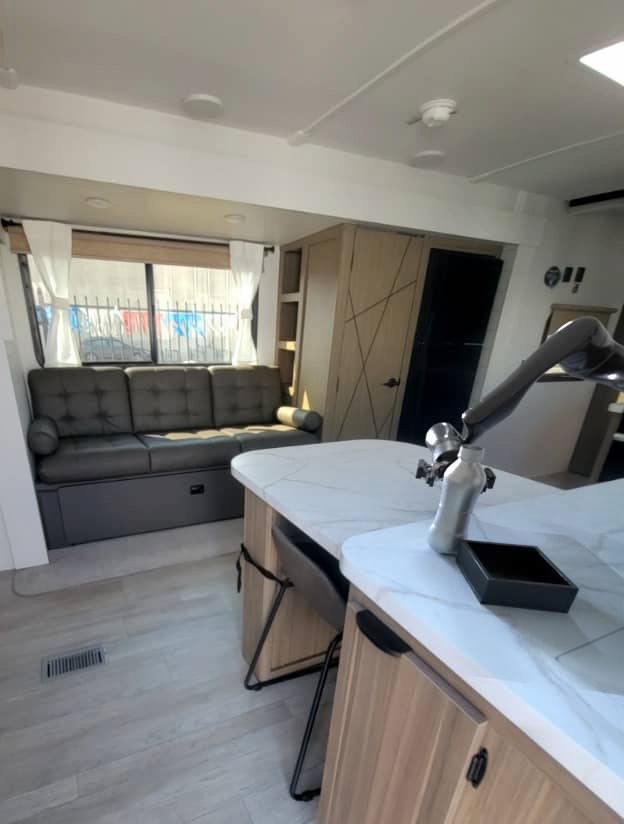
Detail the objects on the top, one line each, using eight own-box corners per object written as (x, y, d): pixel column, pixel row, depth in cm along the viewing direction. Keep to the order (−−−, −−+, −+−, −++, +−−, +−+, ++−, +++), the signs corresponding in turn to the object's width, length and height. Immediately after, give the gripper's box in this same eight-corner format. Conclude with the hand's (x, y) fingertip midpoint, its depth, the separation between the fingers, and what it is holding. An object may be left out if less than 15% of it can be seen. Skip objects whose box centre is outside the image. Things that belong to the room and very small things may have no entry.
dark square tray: (528, 567, 72) (536, 545, 70) (567, 613, 61) (579, 589, 59) (454, 560, 73) (461, 539, 71) (480, 603, 62) (488, 579, 60)
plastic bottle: (428, 537, 81) (454, 439, 72) (466, 548, 78) (497, 447, 69) (420, 550, 76) (447, 448, 67) (460, 562, 73) (493, 456, 64)
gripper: (481, 481, 90) (492, 510, 76) (413, 471, 94) (412, 497, 81) (491, 448, 86) (505, 472, 73) (420, 440, 91) (420, 461, 77)
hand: (456, 485), depth 77 cm, fingers open, 8 cm apart
